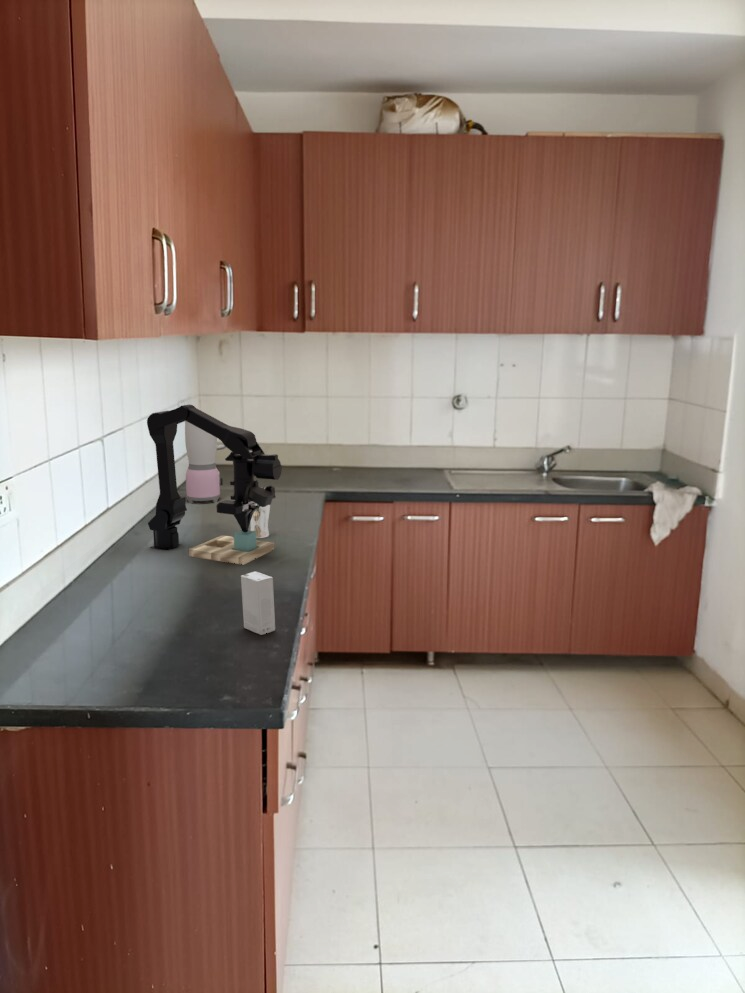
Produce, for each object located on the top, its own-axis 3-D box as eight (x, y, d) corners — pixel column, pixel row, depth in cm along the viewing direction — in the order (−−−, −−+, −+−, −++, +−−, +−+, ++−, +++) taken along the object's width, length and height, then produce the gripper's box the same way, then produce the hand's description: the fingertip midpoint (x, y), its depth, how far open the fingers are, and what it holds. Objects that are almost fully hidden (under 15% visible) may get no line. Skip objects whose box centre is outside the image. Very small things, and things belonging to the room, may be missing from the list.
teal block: (234, 555, 211) (233, 533, 209) (243, 551, 215) (242, 529, 213) (248, 557, 209) (247, 535, 207) (256, 553, 213) (256, 531, 211)
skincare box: (276, 630, 161) (275, 576, 158) (259, 636, 157) (258, 581, 155) (258, 622, 165) (256, 570, 162) (241, 628, 162) (240, 574, 159)
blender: (186, 505, 272) (183, 416, 264) (185, 497, 283) (181, 412, 276) (231, 502, 276) (228, 415, 269) (227, 495, 287) (225, 412, 280)
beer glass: (249, 540, 228) (248, 492, 224) (246, 534, 234) (245, 487, 231) (272, 539, 229) (271, 491, 226) (269, 533, 236) (268, 486, 233)
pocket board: (189, 557, 210) (188, 549, 209) (222, 543, 224) (222, 535, 224) (243, 566, 203) (243, 557, 202) (274, 551, 217) (274, 542, 217)
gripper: (249, 486, 195) (251, 543, 199) (286, 474, 212) (287, 527, 215) (214, 482, 200) (216, 538, 203) (252, 470, 216) (254, 523, 220)
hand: (245, 531), depth 210 cm, fingers closed
